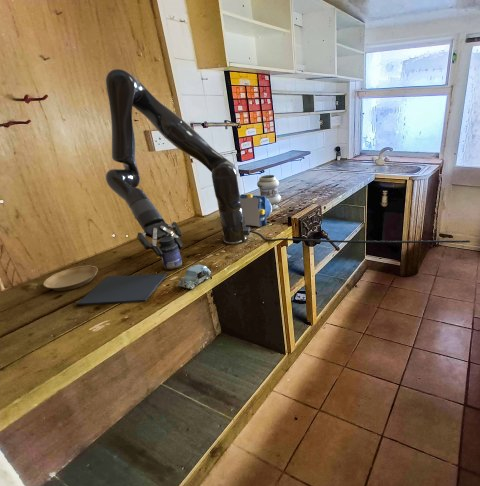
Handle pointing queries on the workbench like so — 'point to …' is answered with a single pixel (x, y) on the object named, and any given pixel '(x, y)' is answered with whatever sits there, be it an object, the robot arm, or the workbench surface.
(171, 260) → the pill bottle
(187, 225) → the workbench surface
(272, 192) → the apothecary jar
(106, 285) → the mat
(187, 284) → the toy car
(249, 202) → the valve
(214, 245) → the workbench surface
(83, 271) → the plant saucer
